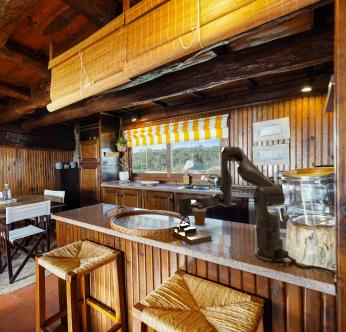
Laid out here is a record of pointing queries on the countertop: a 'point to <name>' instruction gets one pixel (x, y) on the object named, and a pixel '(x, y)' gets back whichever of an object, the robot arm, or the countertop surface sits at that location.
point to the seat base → (191, 235)
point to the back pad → (185, 211)
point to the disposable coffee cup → (199, 216)
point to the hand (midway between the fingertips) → (181, 205)
